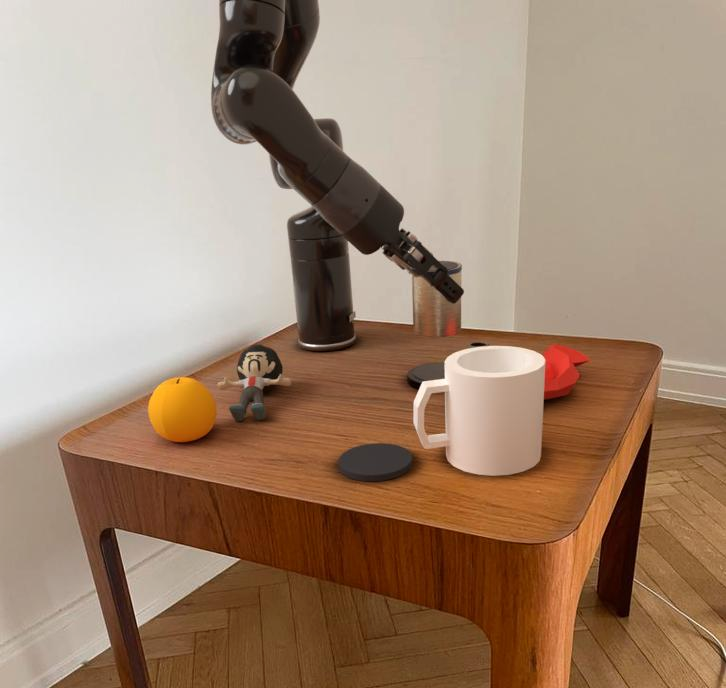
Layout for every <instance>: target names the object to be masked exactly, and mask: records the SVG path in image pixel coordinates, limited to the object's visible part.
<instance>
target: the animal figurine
mask: <svg viewBox="0 0 726 688" xmlns="http://www.w3.org/2000/svg"><path fill="white" fill-rule="evenodd" d="M541 355H542V356H543V357H544V358H545V381H544V400H550V399H555V398H559V397H564V396H568V395H569V394H570V392H571V391H572V389H573V388H574V386H575V384H576V382H577V381H578V380H579V378H580V372H578V369H577V367H579V366H582V365H584V364H586V363H588V362H590V361H591V360H592V359H591V358H589V357H588V356H586V355H585V354H584V353H582V352H580V351H578V350H576V349H573V348H571V347H568V346H566V345H564V344H557V343H552V344H551V345H550V346H549V347H548V348H547V349H546V350H545V351H544V352H543V353H542V354H541Z"/></svg>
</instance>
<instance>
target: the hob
mask: <svg viewBox="0 0 726 688" xmlns="http://www.w3.org/2000/svg"><path fill="white" fill-rule="evenodd" d="M444 362H445V361H441V362H428V363H423V364H419V365H416V366H414V367H411V368H410V369H409V370H408V371H407V372H406V382H407V385H408V386H409V387H411V388H412V389H415V390H416V391H419V389H420V386H421V384H422V382H423V381H431V380H439V379H445V365H444Z"/></svg>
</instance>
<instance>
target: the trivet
mask: <svg viewBox="0 0 726 688" xmlns="http://www.w3.org/2000/svg"><path fill="white" fill-rule="evenodd" d="M337 462H338V470H339V472H340V473H341V474H342V475H344V476H345V477H347V478H349V479H351V480H355V481H360V482H383V481H388V480H392V479H393V480H394V479H396V478H398V477H401V476H403V475H405V474H407V473H408V472H409V471H410V470H411V469H412V467H413V454H412V453H411V451H410V450H409V449H407V448H405V447H403V446H401V445H397V444H393V443H386V442H385V443H383V442H381V443H380V442H375V443H365V444H361V445H357V446H354V447H352V448H349V449H347V450H345V451H344V452H343V453H342V454H341V455H340V456H339V458H338V461H337Z"/></svg>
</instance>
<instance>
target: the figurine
mask: <svg viewBox="0 0 726 688" xmlns="http://www.w3.org/2000/svg"><path fill="white" fill-rule="evenodd" d="M283 367H284V366H283V363H282V361H281V358H280V357H279V356H278V353H277V352H276V351H275V349H273V348H272V347H268V346H265V345H262V344H253V345H251V346H250V347H248V348H247V349H244V350H243V351H242V352H241V354H240V356H239V358H238V360H237V365H236V373H237V377H238V379H239V380H238V381H237V380H236V381H231V380H229V379H228V378H227V377H226V376H224V378H223V381H219V382H218V383H217V388H218V390H221V391H222V390H226V389H227V390H228V389H231V388H237V387H240V388H243V390H242V392H241V396H240V399H239V402H238V404H231V405H230V406H229V408H228V409H229V412H230V414H231V416H232V419H233V420H234V421H236V422H242V421H243V420H244V417H245V416H246V415H247V409H248V407H249V404H251V403H252V404H251V405H250V411H251V412H252V414H253V417H254V418H255V419H256V420H257V421H264V420H265V419H266V416H267V413H266V406H265V403H264V392H267V391H269V390H272V389H274V388H276V387H277V386H284V387H290V386H291V385H292V383H293V382H292V379H291V378H290V377H289V378H288V377H283Z"/></svg>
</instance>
